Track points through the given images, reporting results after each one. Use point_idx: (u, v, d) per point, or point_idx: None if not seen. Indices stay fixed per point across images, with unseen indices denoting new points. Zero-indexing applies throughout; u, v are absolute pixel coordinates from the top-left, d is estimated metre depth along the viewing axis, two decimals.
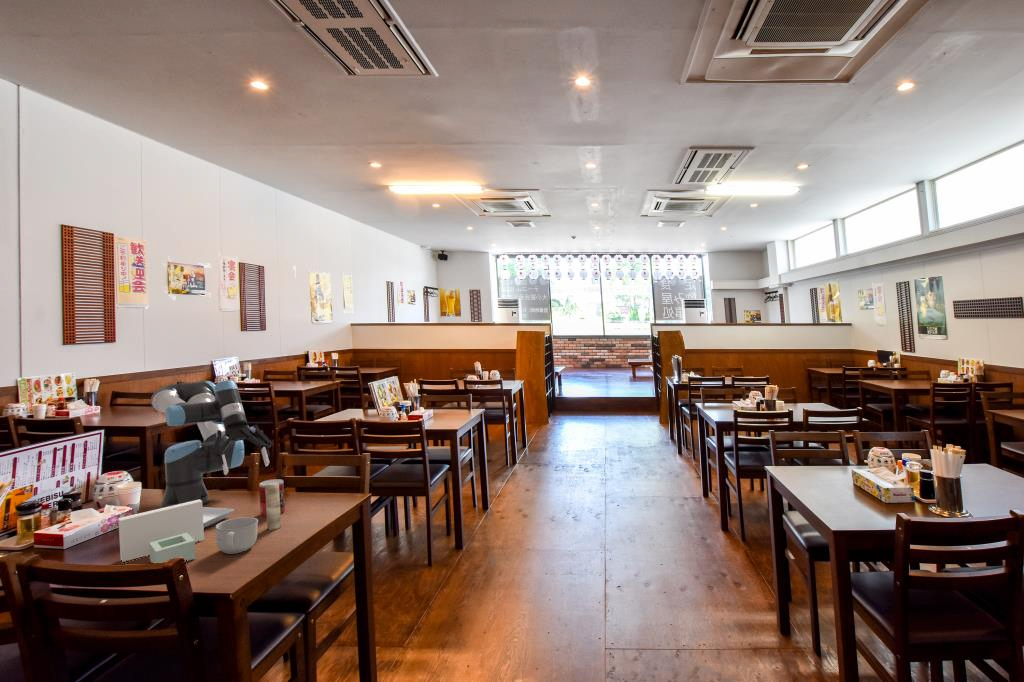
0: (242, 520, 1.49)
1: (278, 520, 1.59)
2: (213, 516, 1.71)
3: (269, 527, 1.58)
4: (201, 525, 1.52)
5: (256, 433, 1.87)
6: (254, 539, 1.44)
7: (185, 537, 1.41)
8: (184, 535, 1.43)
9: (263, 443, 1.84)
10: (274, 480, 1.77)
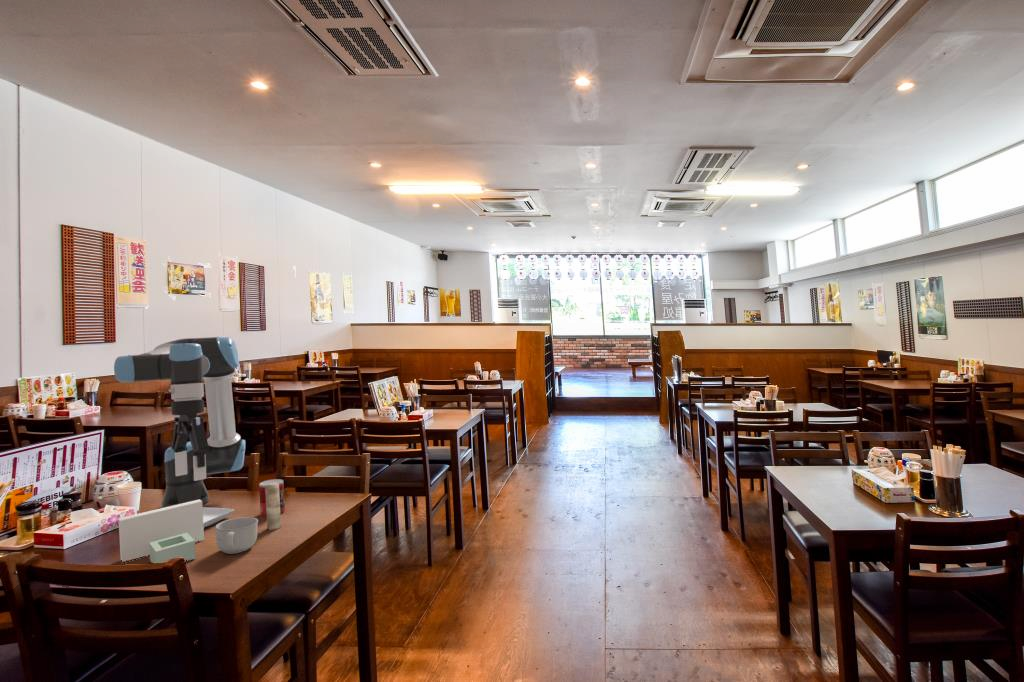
0: (242, 520, 1.49)
1: (278, 520, 1.59)
2: (213, 516, 1.71)
3: (269, 527, 1.58)
4: (201, 525, 1.52)
5: None
6: (254, 539, 1.44)
7: (185, 537, 1.41)
8: (184, 535, 1.43)
9: (194, 449, 1.30)
10: (274, 480, 1.77)
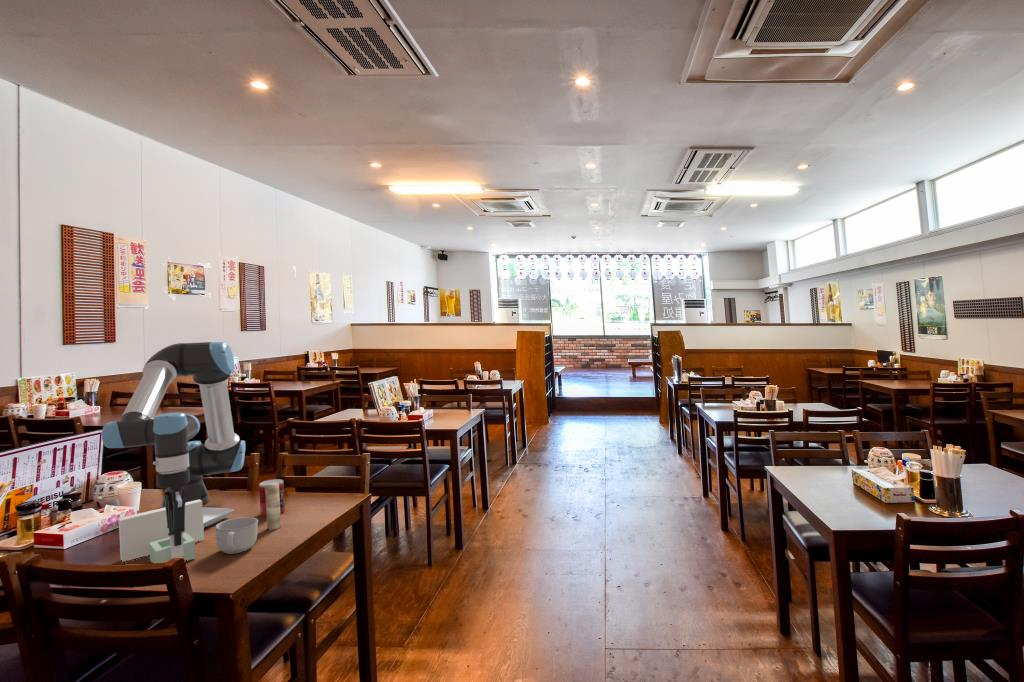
0: (242, 520, 1.49)
1: (278, 520, 1.59)
2: (213, 516, 1.71)
3: (269, 527, 1.58)
4: (201, 525, 1.52)
5: None
6: (254, 539, 1.44)
7: (185, 537, 1.41)
8: (184, 535, 1.43)
9: (171, 528, 1.33)
10: (274, 480, 1.77)
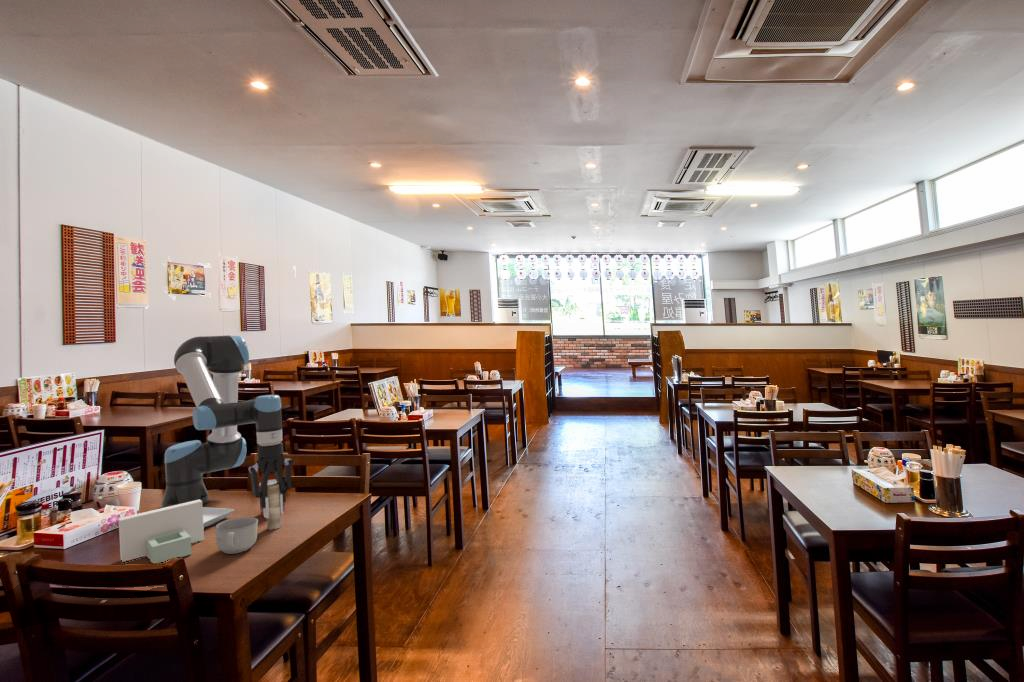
0: (242, 520, 1.49)
1: (278, 520, 1.59)
2: (213, 516, 1.71)
3: (269, 527, 1.58)
4: (201, 525, 1.52)
5: (286, 467, 1.63)
6: (254, 539, 1.44)
7: (181, 533, 1.44)
8: (180, 531, 1.46)
9: (283, 488, 1.61)
10: (274, 480, 1.77)
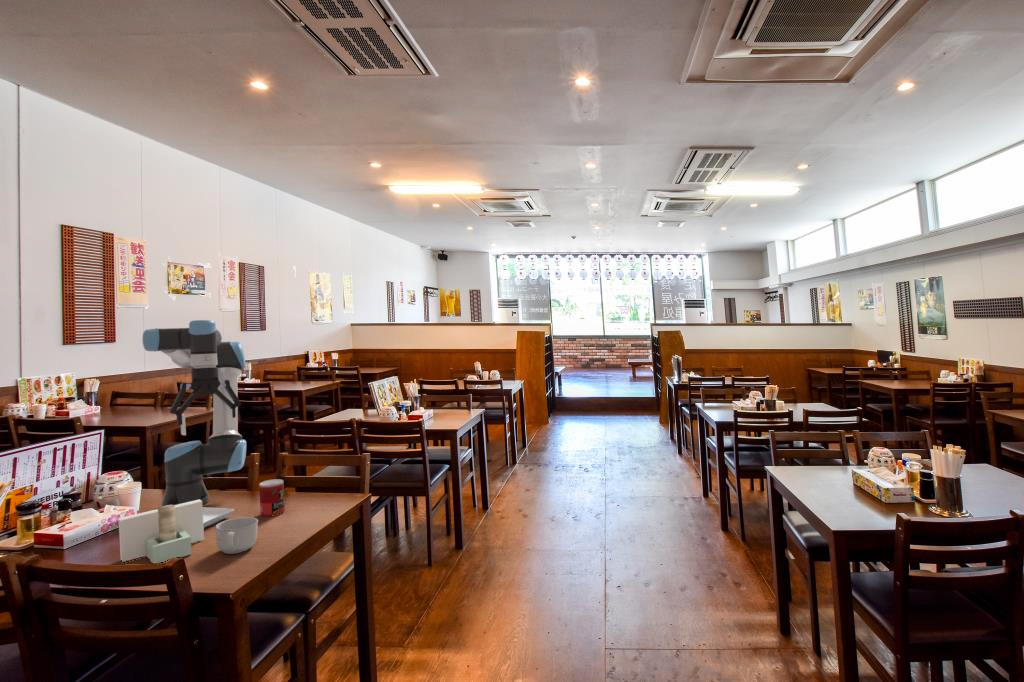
0: (242, 520, 1.49)
1: None
2: (213, 516, 1.71)
3: None
4: (201, 525, 1.52)
5: (226, 388, 1.67)
6: (254, 539, 1.44)
7: (181, 533, 1.44)
8: (180, 531, 1.46)
9: (231, 404, 1.67)
10: (274, 480, 1.77)
